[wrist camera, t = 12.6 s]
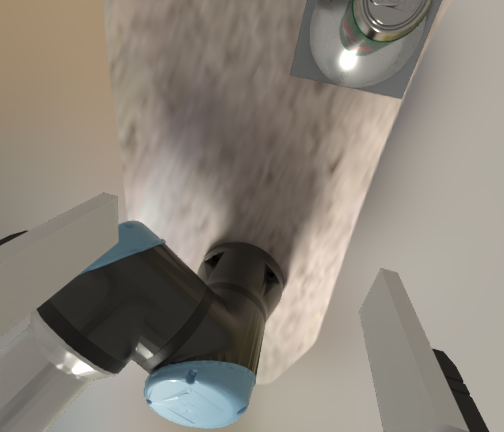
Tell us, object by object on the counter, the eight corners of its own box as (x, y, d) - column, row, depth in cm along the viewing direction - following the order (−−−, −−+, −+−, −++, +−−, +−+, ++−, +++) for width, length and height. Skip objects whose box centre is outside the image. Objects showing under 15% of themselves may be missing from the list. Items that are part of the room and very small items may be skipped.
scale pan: (393, 97, 32) (397, 97, 30) (298, 76, 33) (297, 75, 31) (441, -26, 27) (448, -32, 25) (327, -46, 28) (328, -53, 26)
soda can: (383, 58, 29) (424, 43, 19) (334, 54, 30) (346, 37, 19) (399, -2, 27) (455, -59, 16) (345, -5, 28) (365, -61, 17)
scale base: (394, 97, 35) (401, 98, 32) (291, 75, 36) (290, 74, 33) (440, -19, 30) (453, -29, 27) (318, -41, 31) (319, -53, 28)
